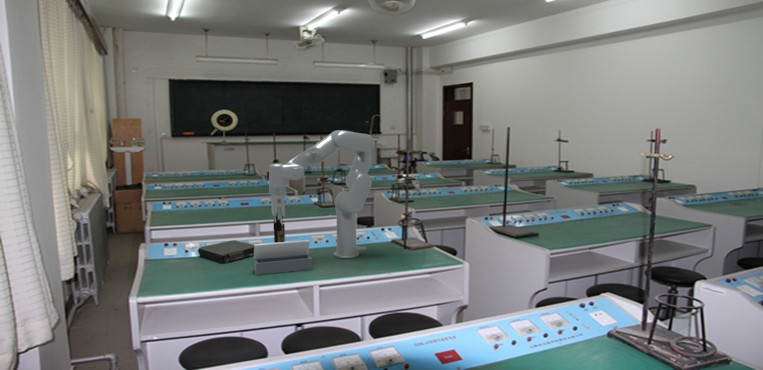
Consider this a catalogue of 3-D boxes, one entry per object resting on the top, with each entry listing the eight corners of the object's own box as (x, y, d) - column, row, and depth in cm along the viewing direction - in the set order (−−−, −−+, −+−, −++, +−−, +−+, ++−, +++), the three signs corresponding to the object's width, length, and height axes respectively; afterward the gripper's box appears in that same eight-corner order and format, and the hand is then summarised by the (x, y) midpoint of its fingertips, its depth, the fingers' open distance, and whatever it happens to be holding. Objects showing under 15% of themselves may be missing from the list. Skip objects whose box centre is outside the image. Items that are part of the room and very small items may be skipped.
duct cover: (308, 255, 218) (307, 254, 219) (309, 241, 213) (309, 239, 214) (253, 260, 210) (253, 258, 210) (254, 245, 205) (254, 244, 205)
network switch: (227, 265, 218) (227, 255, 217) (193, 258, 230) (192, 248, 229) (264, 254, 238) (263, 244, 237) (230, 248, 250) (230, 238, 249)
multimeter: (290, 254, 236) (289, 214, 234) (271, 253, 238) (270, 213, 236) (300, 247, 251) (300, 209, 248) (283, 246, 253) (282, 208, 250)
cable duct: (308, 265, 218) (308, 254, 217) (312, 269, 211) (311, 258, 211) (254, 270, 210) (254, 259, 209) (256, 275, 203) (255, 263, 202)
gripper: (288, 192, 211) (288, 233, 213) (283, 188, 225) (283, 227, 227) (271, 193, 208) (271, 234, 210) (266, 189, 222) (266, 228, 224)
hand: (277, 230), depth 218 cm, fingers closed
